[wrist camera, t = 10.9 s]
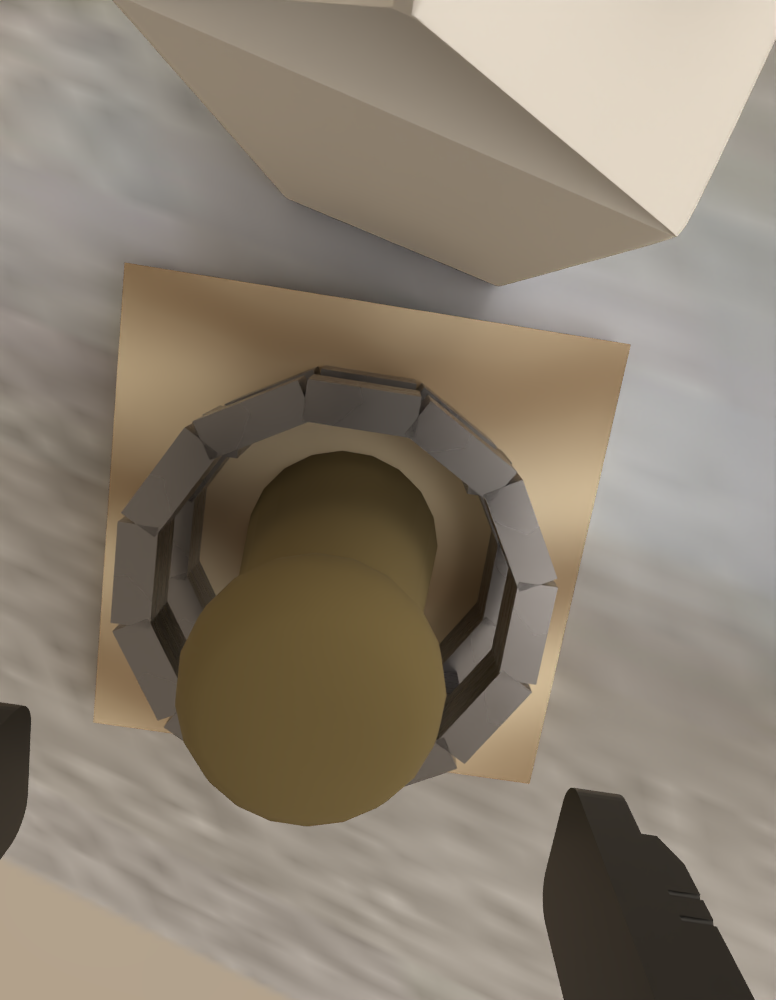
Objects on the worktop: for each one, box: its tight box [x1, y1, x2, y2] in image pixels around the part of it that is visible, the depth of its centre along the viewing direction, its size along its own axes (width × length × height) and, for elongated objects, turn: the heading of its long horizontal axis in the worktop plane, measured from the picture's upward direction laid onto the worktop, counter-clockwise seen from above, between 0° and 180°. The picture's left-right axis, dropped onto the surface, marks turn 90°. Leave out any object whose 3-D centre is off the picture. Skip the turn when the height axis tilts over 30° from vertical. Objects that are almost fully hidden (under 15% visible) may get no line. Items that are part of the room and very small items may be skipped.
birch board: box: [93, 263, 630, 784], centre depth 24 cm, size 15×15×2 cm
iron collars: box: [110, 365, 558, 786], centre depth 21 cm, size 11×11×5 cm
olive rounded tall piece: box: [175, 451, 447, 826], centre depth 18 cm, size 6×6×11 cm
